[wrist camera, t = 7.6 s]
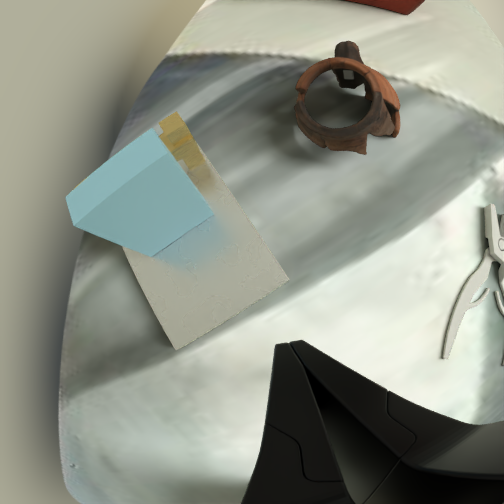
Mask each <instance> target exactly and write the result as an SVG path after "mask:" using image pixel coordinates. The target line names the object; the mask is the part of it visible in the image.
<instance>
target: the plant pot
mask: <svg viewBox="0 0 504 504" xmlns="http://www.w3.org/2000/svg"><path fill="white" fill-rule="evenodd" d="M347 1H352V2H357V3H362V4H367V5H372V6H376V7H380V8H384V9H388V10H392V11H395V12H399V13H402V14H406V15H409V14H410V13H412V12H413V11H414V10H415V9H416V8H417V7H418V6H420V5H421V4H422V3H423V2H424V1H425V0H347Z"/></svg>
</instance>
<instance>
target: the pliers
mask: <svg viewBox="0 0 504 504" xmlns="http://www.w3.org/2000/svg"><path fill="white" fill-rule="evenodd" d="M484 216H485V237H486V238H488V241H489V247H488V248H487V249H486V250H485V253H484V257H483V260H482V262H481V264H480V265H479V267H478V269H477V270H476V271H475V272H474V273H473V274H472V275H471V276H470V277H469V279H468V280H467V282H466V283H465V285H464V287H463V289H462V291H461V293H460V295H459V297H458V299H457V302H456V304H455V307H454V309H453V312H452V315H451V318H450V322H449V325H448V329H447V333H446V337H445V343H444V349H443V356H442V358H444V359H448V358H449V355H450V352H451V349H452V346H453V343H454V340H455V337H456V335H457V332H458V329H459V326H460V324H461V321H462V319H463V317H464V314H465V312H466V311H467V310H468V309H470V308H473V307H475V306H477V305H478V304H480V303H481V302H482V301H483V300H484V299H485V297H486V296H487V294H488V292H489V291H490V289H489V288H486V290H485V292H484V293H483V295H482V296H481V297H480V298H479V299H478V300H477V301H475V302H473V303H470V301H471V299H472V297H473V295H474V294H475V293H476V291H477V290H478V289H479V288H480V286H481V285H482V284H483V283H484V282H485V281H486V279H487V278H488V274H489V270H490V267H491V263H492V262H495V261H498V262H499V263H500V264H501V266H500V268H499V270H498V271H499V284H500V287H501V290H502V293H503V296H504V214H502V216H501V222H500V228H499V225H498V220H497V214H496V209H495V204H490V205H488V206H486V207H485V208H484ZM495 296H496V301H497V304H498V307H499V309H500V311H501V313H502V314H503V316H504V307H503V306H502V303H501V300H500V296H499V292H498V291H495ZM502 365H504V359H503V364H502Z"/></svg>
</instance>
